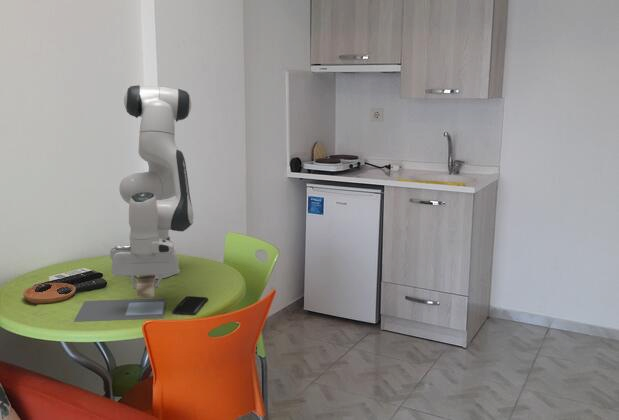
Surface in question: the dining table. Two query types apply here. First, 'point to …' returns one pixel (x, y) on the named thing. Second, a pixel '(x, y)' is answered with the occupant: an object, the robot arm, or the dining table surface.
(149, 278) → the card box
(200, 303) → the phone
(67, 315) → the dining table surface
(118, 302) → the mat
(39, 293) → the saucer
